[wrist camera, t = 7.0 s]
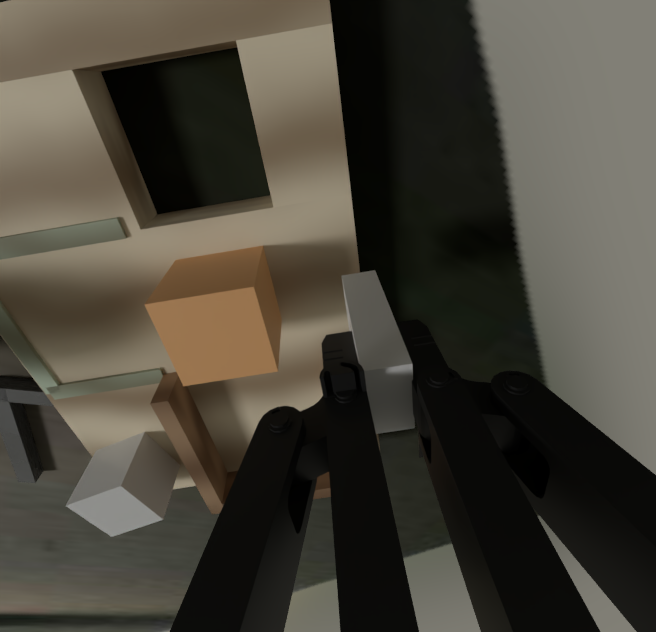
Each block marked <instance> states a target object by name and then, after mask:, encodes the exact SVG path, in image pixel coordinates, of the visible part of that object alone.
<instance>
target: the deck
mask: <svg viewBox="0 0 656 632" xmlns="http://www.w3.org/2000/svg"><path fill="white" fill-rule="evenodd" d="M236 47H237V48H238V52H239V57H240V61H241V65H242V70H243V74H244V79H245V83H246V88H247V92H248V96H249V101H250V105H251V110H252V114H253V119H254V123H255V127H256V132H257V136H258V141H259V145H260V150H261V154H262V158H263V163H264V167H265V172H266V176H267V181H268V185H269V189H270V194H271V195H269V196H263V197H257V198H251V199H245V200H239V201H233V202H227V203H222V204H216V205H210V206H204V207H198V208H192V209H186V210H180V211H174V212H168V213H162V214H157V212H156V210H155V207H154V204H153V202H152V199H151V197H150V194H149V192H148V189H147V187H146V184H145V182H144V179H143V177H142V174H141V172H140V169H139V167H138V164H137V162H136V159H135V157H134V154H133V152H132V149H131V146H130V144H129V141H128V139H127V136H126V134H125V131H124V129H123V126H122V124H121V121H120V119H119V116H118V114H117V111H116V109H115V106H114V104H113V101H112V99H111V96H110V94H109V91H108V88H107V86H106V83H105V81H104V78H103V76H102V73H101V71H106V70H112V69H118V68H123V67H129V66H134V65H140V64H146V63H151V62H157V61H163V60H168V59H174V58H179V57H185V56H191V55H196V54H202V53H208V52H213V51H219V50H224V49H230V48H236ZM257 246H263V247H264V251H265V255H266V259H267V263H268V267H269V271H270V275H271V279H272V283H273V287H274V291H275V295H276V298H277V302H278V306H279V310H280V314H281V318H282V325H281V339H280V352H279V366H278V372H272V373H265V374H259V375H253V376H246V377H240V378H234V379H227V380H221V381H214V382H208V383H202V384H195V385H189V386H187V387H188V389H189V391H190V393H191V396H192V398H193V400H194V402H195V404H196V406H197V408H198V410H199V413H200V415H201V417H202V419H203V421H204V423H205V425H206V427H207V430H208V432H209V434H210V436H211V438H212V440H213V442H214V444H215V447H216V449H217V451H218V453H219V455H220V457H221V459H222V461H223V464H224V466H225V468H226V470H227V472H233V471H238V470H239V467H240V465H241V463H242V460H243V458H244V456H245V453H246V451H247V449H248V446H249V444H250V441H251V439H252V437H253V434H254V432H255V430H256V427H257V425H258V423H259V421H260V419H261V418H262V416H263V415H264V414H266V413H267V412H268V411H269V410H271V409H274V408H276V407H280V406H290V407H294V408H296V409H297V410H299V411H302V410H305V409H307V408H309V407H311V406H313V405H314V404H316V403H317V402H318V401H319V400H320V399H321V398H322V396H323V392H322V387H321V383H320V378H319V377H320V372H321V371H322V369H323V358H322V344H321V343H322V342H323V340H324V338H325V336H326V335H328V334H335V333H341V332H347V331H349V325H348V318H347V311H346V304H345V297H344V290H343V283H342V275H348V274H355V273H360V268H359V259H358V250H357V241H356V232H355V224H354V215H353V206H352V197H351V188H350V179H349V170H348V161H347V152H346V143H345V134H344V126H343V117H342V108H341V99H340V90H339V81H338V72H337V63H336V54H335V45H334V37H333V28H332V19H331V10H330V1H329V0H11V1H5V2H0V335H1V337H2V338H3V339H4V341H5V342H6V343H7V344H8V346H9V347H10V348H11V350H12V351H13V352H14V354H15V355H16V356H17V358H18V359H19V360H20V362H21V363H22V364H23V366H24V367H25V368H26V370H27V371H28V372H29V374H30V375H31V376H32V378H33V379H34V380H35V381H36V383H37V384H38V385H39V387H40V388H41V389H42V391H43V392H44V393H45V395H46V396H47V397H48V399H49V400H50V401H51V403H52V404H53V405H54V407H55V408H56V409H57V411H58V412H59V413H60V415H61V416H62V417H63V418H64V420H65V421H66V422H67V424H68V425H69V426H70V428H71V429H72V430H73V432H74V433H75V434H76V436H77V437H78V438H79V440H80V441H81V442H82V444H83V445H84V446H85V448H86V449H87V450H88V452H89V453H90V454H91V455H92V457H93V455H94V453H95V452H96V450H98V449H101V448H104V447H106V446H109V445H111V444H114V443H117V442H119V441H122V440H125V439H127V438H130V437H132V436H135V435H138V434H140V433H143V432H146V433H147V434H148V435H149V436H150V437H151V438H152V439H153V440H154V441H155V442H156V443H157V444H158V445H159V446H160V447H161V448H163V449H164V450H165V451H166V452H167V453H168V454H169V455H170V456H171V457H172V458H173V459H174V460H175V461H176V462H177V463H178V464H179V465H180V468H179V471H178V474H177V477H176V480H175V484H174V487H173V489H178V488H184V487H191V486H196V485H195V483H194V481H193V479H192V478H191V476H190V474H189V472H188V470H187V469H186V467H185V465H184V463H183V462H182V460H181V458H180V456H179V454H178V453H177V451H176V449H175V447H174V446H173V444H172V442H171V440H170V438H169V437H168V435H167V433H166V431H165V430H164V428H163V426H162V424H161V422H160V421H159V419H158V417H157V415H156V414H155V412H154V410H153V408H152V406H151V405H150V403H151V401H152V398H153V396H154V394H155V392H156V390H157V388H158V385H159V383H160V381H161V379H162V377H163V375H164V374H166V373H172V372H176V370H175V368H174V366H173V364H172V361H171V359H170V357H169V355H168V353H167V351H166V349H165V347H164V345H163V343H162V340H161V338H160V336H159V334H158V332H157V330H156V328H155V326H154V324H153V322H152V320H151V317H150V315H149V313H148V311H147V309H146V307H145V305H144V304H145V303H146V301H147V300H148V299H149V297H150V296H151V294H152V293H153V291H154V290H155V289H156V287H157V286H158V284H159V283H160V281H161V280H162V279H163V277H164V276H165V274H166V273H167V271H168V270H169V269H170V267H171V266H172V264H173V263H174V261H175V260H178V259H184V258H190V257H196V256H202V255H208V254H214V253H220V252H227V251H233V250H239V249H245V248H251V247H257ZM376 436H377V441H378V445H379V437H378V434H376ZM379 450H380V446H379Z"/></svg>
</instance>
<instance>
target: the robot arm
mask: <svg viewBox="0 0 656 632" xmlns="http://www.w3.org/2000/svg"><path fill="white" fill-rule="evenodd" d="M342 283H343V290H344V297H345V304H346V311H347V318H348V325H349V331H347V332H341V333H335V334H328V335H326V336H325V338H324V340H323V342H322V343H321V344H322V358H323V369H322V371H321V372H320V377H319V378H320V383H321V387H322V392H323V396H322V398H321V399H320V400H319V401H318V402H317V403H316V404H314V405H313V406H311V407H309V408H307V409H305V410H302V411H299V410H297V409H296V408H294V407H290V406H280V407H276V408H274V409H271V410H269V411H268V412H267V413H266V414H264V415H263V416H262V418H261V419H260V421H259V423H258V425H257V427H256V430H255V432H254V434H253V437H252V439H251V441H250V444H249V446H248V449H247V451H246V453H245V456H244V458H243V460H242V463H241V465H240V467H239V470H238V472H237V474H236V477H235V479H234V482H233V484H232V486H231V489H230V491H229V493H228V496H227V498H226V500H225V503H224V505H223V507H222V510H221V512H220V514H219V517H218V519H217V522H216V524H215V526H214V529H213V531H212V533H211V536H210V538H209V540H208V543H207V545H206V547H205V550H204V552H203V555H202V557H201V559H200V562H199V564H198V566H197V569H196V571H195V573H194V576H193V578H192V580H191V583H190V585H189V588H188V590H187V592H186V595H185V597H184V599H183V602H182V604H181V606H180V609H179V611H178V613H177V616H176V618H175V621H174V623H173V625H172V628H171V630H170V632H284V628H285V623H286V619H287V614H288V609H289V605H290V600H291V596H292V592H293V587H294V583H295V578H296V574H297V569H298V565H299V560H300V556H301V551H302V547H303V542H304V537H305V533H306V528H307V524H308V519H309V515H310V510H311V506H312V501H313V497H314V492H315V488H316V483H317V477H319V476H321V475H323V474H325V473H327V472H329V478H330V492H331V506H332V519H333V533H334V547H335V561H336V574H337V588H338V601H339V616H340V630H341V632H419V630H418V626H417V621H416V616H415V611H414V607H413V602H412V598H411V594H410V589H409V584H408V579H407V575H406V570H405V566H404V561H403V556H402V551H401V547H400V542H399V538H398V533H397V528H396V524H395V519H394V515H393V510H392V505H391V501H390V496H389V492H388V487H387V482H386V478H385V473H384V468H383V464H382V459H381V455H380V450H379V445H378V441H377V436H376V434H379V433H386V432H392V431H399V430H406V429H413V428H415V421H416V424H417V427H418V434H419V458H420V457H423V456H424V459H425V462H426V465H427V468H428V471H429V474H430V477H431V480H432V483H433V486H434V489H435V492H436V495H437V498H438V501H439V505H440V508H441V511H442V514H443V517H444V520H445V523H446V526H447V529H448V532H449V535H450V538H451V541H452V544H453V547H454V550H455V553H456V556H457V559H458V562H459V566H460V568H461V572H462V575H463V578H464V581H465V584H466V587H467V590H468V593H469V596H470V599H471V602H472V605H473V609H474V612H475V615H476V618H477V621H478V624H479V627H480V630H481V632H600V630H599V629H598V627H597V625H596V623H595V621H594V619H593V618H592V616H591V614H590V612H589V610H588V608H587V607H586V605H585V603H584V601H583V599H582V597H581V596H580V594H579V592H578V590H577V588H576V586H575V585H574V583H573V581H572V579H571V578H570V575H569V574H568V572H567V570H566V568H565V566H564V564H563V563H562V561H561V559H560V557H559V555H558V553H557V552H556V550H555V548H554V546H553V545H552V543H551V541H550V539H549V537H548V535H547V534H546V532H545V530H544V528H543V526H542V525H541V522H540V521H539V519H538V517H537V515H536V513H535V511H534V510H533V508H534V509H535V510H536V512H537V513H538V514H539V515H540V516H541V517H542V519H543V520H544V521H545V522H546V524H547V525H548V526H549V527H550V528H551V529H552V531H553V532H554V533H555V534H556V535H557V537H558V538H559V539H560V540H561V542H562V543H563V544H564V545H565V546H566V547H567V549H568V550H569V551H570V552H571V553H572V555H573V556H574V557H575V558H576V560H577V561H578V562H579V563H580V564H581V566H582V567H583V568H584V569H585V570H586V571H587V573H588V574H589V575H590V576H591V577H592V579H593V580H594V581H595V582H596V583H597V584H598V586H599V587H600V588H601V589H602V590H603V592H604V593H605V594H606V595H607V597H608V598H609V599H610V600H611V601H612V603H613V604H614V605H615V606H616V607H617V608H618V610H619V611H620V612H621V613H622V614H623V616H624V617H625V618H626V619H627V621H628V622H629V623H630V624H631V625H632V627H633V628H634V629H635V630H636V631H637V632H656V475H655V474H654V473H652V472H651V471H650V470H648V469H647V468H646V467H645V466H643V465H642V464H641V463H640V462H638V461H637V460H636V459H635V458H634V457H632V456H631V455H630V454H629V453H627V452H626V451H625V450H624V449H622V448H621V447H620V446H619V445H617V444H616V443H615V442H614V441H613V440H611V439H610V438H609V437H608V436H606V435H605V434H604V433H603V432H601V431H600V430H599V429H598V428H596V427H595V426H594V425H593V424H591V423H590V422H589V421H588V420H586V419H585V418H584V417H583V416H582V415H580V414H579V413H578V412H576V411H575V410H574V409H573V408H572V407H570V406H569V405H568V404H567V403H565V402H564V401H563V400H562V399H560V398H559V397H558V396H557V395H555V394H554V393H553V392H552V391H550V390H549V389H548V388H547V387H545V386H544V385H543V384H542V383H541V382H539V381H538V380H537V379H535V378H534V377H532V376H530V375H529V374H526V373H522V372H519V371H504V372H500V373H498V374H497V375H495V376H494V377H493V379H492V380H491V383H486V382H475V381H469V380H465V379H462V378H461V376H460V375H459V374H458V373H457V372H456V371H454V370H452V369H450V368H449V367H448V366H447V364H446V362H445V360H444V358H443V356H442V354H441V352H440V350H439V348H438V347H437V345H436V343H435V341H434V339H433V337H432V336H431V333H430V331H429V329H428V327H427V326H426V325H424V324H423V323H422V322H420V321H419V320H412V321H406V322H399V323H396V321H395V319H394V316H393V314H392V311H391V309H390V306H389V304H388V301H387V299H386V296H385V294H384V291H383V289H382V286H381V284H380V281H379V279H378V276H377V274H376V271H375V270H373V271H367V272H361V273H355V274H348V275H342ZM532 507H533V508H532Z"/></svg>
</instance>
